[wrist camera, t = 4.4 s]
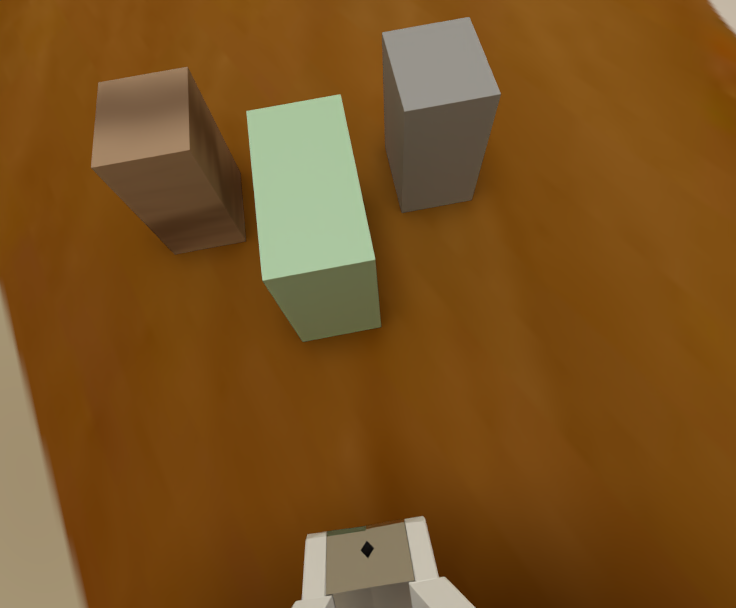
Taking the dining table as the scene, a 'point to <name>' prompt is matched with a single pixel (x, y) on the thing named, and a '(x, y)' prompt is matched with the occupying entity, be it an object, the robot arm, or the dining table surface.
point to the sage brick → (312, 219)
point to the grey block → (436, 111)
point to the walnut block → (168, 160)
